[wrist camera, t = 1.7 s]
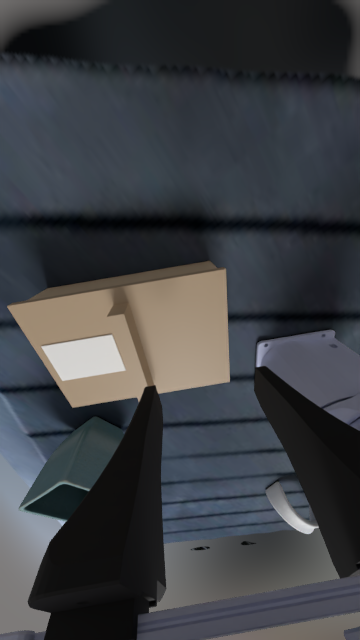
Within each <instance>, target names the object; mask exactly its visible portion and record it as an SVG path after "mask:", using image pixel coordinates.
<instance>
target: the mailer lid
mask: <svg viewBox="0 0 360 640" xmlns="http://www.w3.org/2000/svg"><path fill="white" fill-rule="evenodd" d="M7 307H8V309H9V310H10V312H11V313H12V315H13V317H14V318H15V320H16V321H17V323H18V324H19V326H20V327H21V329H22V330H23V332H24V333H25V335H26V337H27V338H28V340H29V341H30V343H31V344H32V346H33V347H34V349H35V350H36V352H37V354H38V355H39V357H40V358H41V360H42V361H43V363H44V364H45V366H46V367H47V369H48V371H49V372H50V374H51V375H52V377H53V378H54V380H55V381H56V383H57V384H58V386H59V387H60V389H61V391H62V392H63V394H64V395H65V397H66V398H67V400H68V401H69V403H70V404H71V406H72V408H74V407H80V406H86V405H92V404H98V403H104V402H110V401H116V400H122V399H128V398H134V397H137V398H138V401H140V399H141V396H142V394H143V391H144V388H145V387H147V386H153V385H156V388H157V392H158V394H159V393H165V392H171V391H177V390H183V389H189V388H195V387H201V386H207V385H213V384H219V383H225V382H230V373H229V344H228V315H227V286H226V269H225V268H224V267H222V268H216V269H210V270H204V271H198V272H192V273H187V274H181V275H175V276H169V277H163V278H157V279H151V280H145V281H140V282H134V283H128V284H122V285H116V286H110V287H104V288H98V289H92V290H87V291H81V292H75V293H69V294H63V295H57V296H51V297H45V298H40V299H34V300H28V301H22V302H16V303H12V304H10V305H8V306H7Z"/></svg>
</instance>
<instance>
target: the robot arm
mask: <svg viewBox="0 0 360 640" xmlns="http://www.w3.org/2000/svg"><path fill="white" fill-rule="evenodd" d="M334 336H335V331H333V330H325V331H319V332H313V333H307V334H301V335H295V336H289V337H283V338H277V339H271V340H265V341H260V342H258V343H257V350H256V367H255V384H254V391H255V394H256V396H257V399H258V401H259V403H260V406H261V408H262V410H263V411H264V413H265V415H266V417H267V419H268V420H269V422H270V424H271V426H272V427H273V429H274V431H275V433H276V434H277V436H278V438H279V440H280V442H281V443H282V445H283V447H284V449H285V451H286V453H287V455H288V457H289V459H290V461H291V464H292V466H293V468H294V470H295V472H296V475H297V477H298V479H299V481H300V484H301V486H302V488H303V490H304V493H305V495H306V497H307V500H308V502H309V505H310V507H311V509H312V512H313V514H314V516H315V519H316V521H317V524H318V526H319V529H320V531H321V534H322V536H323V539H324V541H325V544H326V546H327V549H328V552H329V554H330V557H331V559H332V562H333V564H334V566H335V568H336V571H337V572H338V575H339V577H340V579H335V580H330V581H324V582H318V583H313V584H307V585H302V586H296V587H291V588H285V589H279V590H274V591H268V592H263V593H257V594H251V595H246V596H240V597H235V598H229V599H223V600H218V601H212V602H207V603H202V604H195V605H190V606H185V607H179V608H173V609H167V610H162V611H156V612H151V613H149V608H151V607H156V606H157V602H160V600H161V598H162V597H163V595H164V593H165V590H166V579H165V561H164V544H163V523H162V498H161V455H162V435H163V414H162V405H161V402H160V398H159V395H158V392H157V388H156V385H153V386H147V387H145V388H144V391H143V394H142V396H141V399H140V401H139V404H138V406H137V409H136V411H135V413H134V416H133V418H132V420H131V422H130V424H129V426H128V428H127V430H126V432H125V434H124V436H123V438H122V440H121V442H120V444H119V445H118V447H117V449H116V451H115V452H114V454H113V456H112V458H111V459H110V461H109V462H108V464H107V465H106V467H105V469H104V470H103V472H102V473H101V475H100V476H99V478H98V479H97V481H96V482H95V484H94V485H93V486H92V488H91V489H90V491H89V492H88V493H87V495H86V496H85V498H84V499H83V500H82V502H81V503H80V505H79V506H78V507H77V508H76V510H75V511H74V512H73V514H72V515H71V516H70V517H69V519H68V520H67V521H66V522H65V524H64V525H63V526H62V527H61V529H60V530H59V531H58V533H57V534H56V535H55V536H54V538H53V539H52V540H51V541H50V543H49V546H48V548H47V550H46V553H45V555H44V557H43V560H42V562H41V565H40V568H39V571H38V574H37V576H36V579H35V582H34V585H33V588H32V591H31V594H30V596H29V599H28V604H29V606H30V607H31V608H33V609H37V610H41V611H45V612H50V613H51V616H50V619H49V622H48V626H47V630H46V631H45V632H39V633H35V632H34V631H16V632H10V633H5V634H0V640H206V639H211V638H217V637H222V636H228V635H233V634H239V633H245V632H250V631H256V630H261V629H267V628H273V627H278V626H283V625H289V624H294V623H300V622H306V621H311V620H317V619H323V618H328V617H334V616H339V615H345V614H350V613H356V612H360V356H359V355H358V354H357V353H355V352H354V351H352V350H351V349H349V348H348V347H347V346H345V345H344V344H342V343H341V342H339V341H338V340H337V339H335V338H334ZM265 344H266V345H265ZM344 636H345V638H346V640H360V626H359V627H357V628H353V629H348V630H344Z"/></svg>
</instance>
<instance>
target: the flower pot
mask: <svg viewBox="0 0 360 640" xmlns="http://www.w3.org/2000/svg"><path fill="white" fill-rule="evenodd" d="M123 436H124V434H123V432H122V430H121V429H120V428H118V427H116V426H114V425H112V424H110V423H108V422H106V421H104V420H102V419H101V418H99V417H92V418H91V419H90V420H88V421H87V422H86V423H84V424H83V425H82V426H80V427H79V428H78V429H76V430H75V431H74V432H73V433H72V434H71V435H70V436H68V437H67V438H66V439H65V440H64V441H63V442H62V443H61V444H60V446H59V447H58V448H57V449H56V450H55V451H54V453H53V454H52V455H51V457H50V458H49V459H48V461H47V462H46V464H45V465H44V467H43V469H42V470H41V472H40V473H39V475H38V477H37V478H36V480H35V482H34V483H33V485H32V487H31V488H30V490H29V492H28V493H27V495H26V497H25V498H24V500H23V502H22V503H21V505H20V507H19V510H20V511H23V512H27V513H31V514H35V515H40V516H44V517H48V518H52V519H57V520H62V521H67V520H68V519H69V517H70V516H71V515H72V514H73V512H74V511H75V510H76V508H77V507H78V506H79V505H80V503H81V502H82V500H83V499H84V498H85V496H86V495H87V493H88V492H89V491H90V489H91V488H92V486H93V485H94V484H95V482H96V481H97V479H98V478H99V476H100V475H101V473H102V472H103V470H104V469H105V467H106V465H107V464H108V462H109V461H110V459H111V458H112V456H113V454H114V452H115V451H116V449H117V447H118V445H119V444H120V442H121V440H122V438H123Z"/></svg>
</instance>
